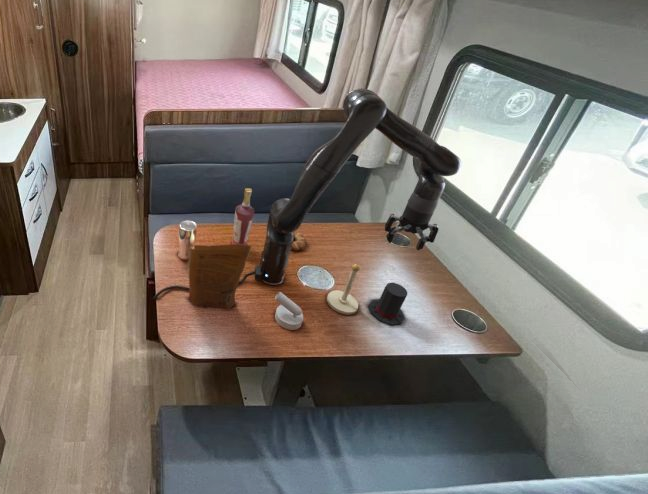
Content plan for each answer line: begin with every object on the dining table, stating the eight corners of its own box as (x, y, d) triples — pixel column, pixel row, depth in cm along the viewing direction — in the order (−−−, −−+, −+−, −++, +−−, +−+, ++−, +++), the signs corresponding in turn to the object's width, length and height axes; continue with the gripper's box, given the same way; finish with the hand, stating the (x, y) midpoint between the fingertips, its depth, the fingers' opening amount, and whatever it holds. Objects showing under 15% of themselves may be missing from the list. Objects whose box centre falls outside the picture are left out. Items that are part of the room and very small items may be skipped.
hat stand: (329, 311, 134) (344, 273, 125) (324, 290, 143) (337, 252, 133) (360, 316, 133) (377, 278, 123) (353, 295, 141) (369, 257, 132)
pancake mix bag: (240, 314, 133) (252, 251, 118) (184, 308, 135) (189, 245, 120) (238, 298, 139) (250, 237, 124) (184, 293, 141) (190, 232, 126)
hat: (373, 322, 131) (384, 299, 125) (365, 297, 140) (374, 275, 134) (408, 328, 129) (420, 305, 123) (397, 302, 138) (408, 280, 133)
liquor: (249, 252, 160) (260, 195, 145) (231, 252, 160) (240, 195, 145) (245, 241, 166) (255, 185, 152) (228, 240, 166) (237, 184, 152)
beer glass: (197, 253, 159) (200, 223, 151) (189, 263, 154) (192, 233, 146) (182, 247, 162) (184, 218, 154) (174, 256, 157) (175, 227, 149)
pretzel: (291, 255, 159) (293, 248, 157) (271, 240, 167) (273, 233, 165) (311, 246, 164) (313, 239, 162) (291, 232, 172) (293, 225, 170)
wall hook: (280, 283, 132) (310, 296, 128) (275, 303, 137) (304, 315, 133) (272, 300, 126) (304, 313, 121) (267, 320, 131) (298, 334, 126)
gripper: (396, 206, 125) (380, 245, 134) (449, 218, 120) (428, 258, 129) (395, 195, 131) (379, 233, 140) (445, 205, 126) (425, 244, 134)
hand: (403, 245), depth 134 cm, fingers open, 8 cm apart
